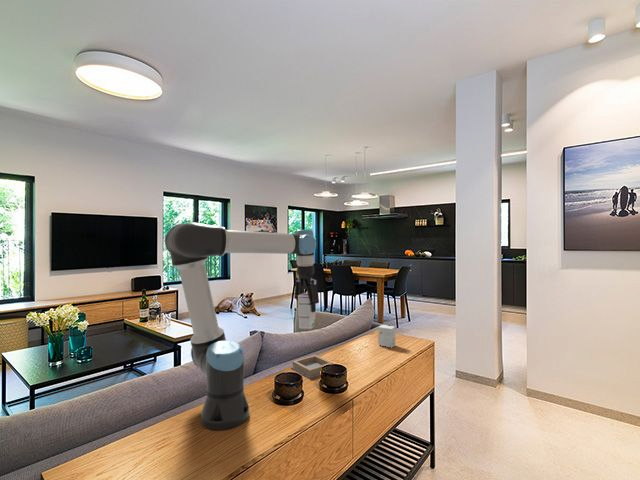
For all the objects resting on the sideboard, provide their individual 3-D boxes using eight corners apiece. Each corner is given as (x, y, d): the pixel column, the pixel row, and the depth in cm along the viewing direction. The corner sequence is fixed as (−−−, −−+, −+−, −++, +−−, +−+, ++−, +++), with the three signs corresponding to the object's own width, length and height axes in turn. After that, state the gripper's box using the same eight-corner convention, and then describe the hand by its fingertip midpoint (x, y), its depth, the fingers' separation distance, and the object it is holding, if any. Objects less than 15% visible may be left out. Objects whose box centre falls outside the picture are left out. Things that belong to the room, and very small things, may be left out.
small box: (395, 345, 178) (395, 326, 178) (392, 348, 173) (392, 328, 173) (381, 343, 182) (381, 324, 182) (378, 346, 177) (378, 326, 177)
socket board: (309, 378, 136) (309, 371, 136) (290, 368, 147) (290, 361, 147) (334, 370, 144) (334, 363, 144) (315, 360, 155) (315, 354, 155)
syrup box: (311, 329, 138) (311, 295, 138) (298, 328, 140) (297, 294, 139) (314, 325, 144) (314, 292, 144) (302, 324, 145) (301, 292, 145)
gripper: (327, 266, 135) (328, 320, 136) (299, 263, 152) (300, 311, 152) (312, 267, 131) (313, 323, 131) (285, 264, 147) (286, 314, 147)
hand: (306, 317), depth 142 cm, fingers closed on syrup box, 8 cm apart
